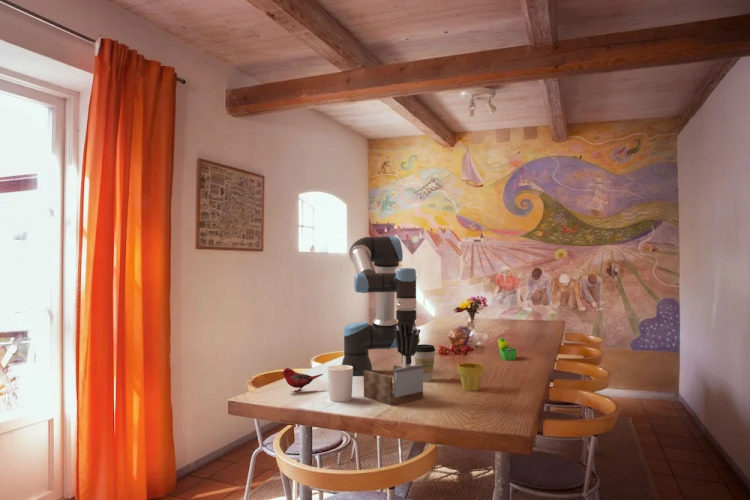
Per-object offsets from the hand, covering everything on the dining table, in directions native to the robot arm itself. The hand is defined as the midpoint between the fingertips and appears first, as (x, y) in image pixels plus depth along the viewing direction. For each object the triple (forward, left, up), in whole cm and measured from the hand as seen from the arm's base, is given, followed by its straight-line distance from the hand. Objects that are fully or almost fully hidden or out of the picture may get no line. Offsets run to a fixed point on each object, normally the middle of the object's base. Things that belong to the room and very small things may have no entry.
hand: (406, 372), depth 192 cm
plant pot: (+3, +32, -11) cm, 34 cm away
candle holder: (-19, -17, -11) cm, 28 cm away
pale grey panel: (0, 0, -8) cm, 8 cm away
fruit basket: (-29, +97, -11) cm, 102 cm away
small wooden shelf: (-8, 0, -11) cm, 13 cm away
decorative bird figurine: (-39, -22, -11) cm, 46 cm away
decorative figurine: (-72, +68, -11) cm, 100 cm away
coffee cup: (-21, +29, -11) cm, 38 cm away
